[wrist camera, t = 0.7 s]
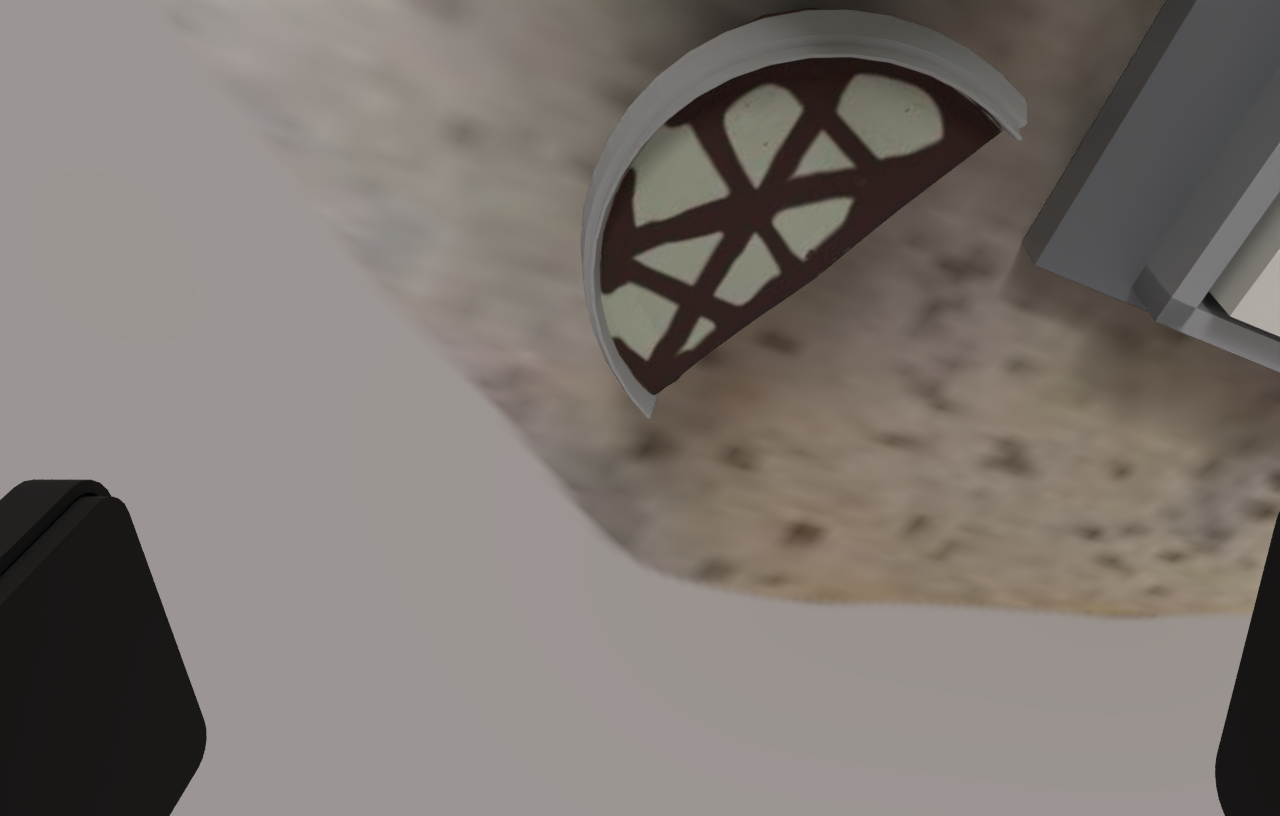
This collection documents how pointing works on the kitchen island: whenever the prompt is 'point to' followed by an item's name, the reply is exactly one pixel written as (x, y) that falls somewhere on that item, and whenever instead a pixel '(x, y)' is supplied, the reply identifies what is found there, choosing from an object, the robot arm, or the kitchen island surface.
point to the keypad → (1176, 172)
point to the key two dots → (1255, 276)
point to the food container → (768, 174)
